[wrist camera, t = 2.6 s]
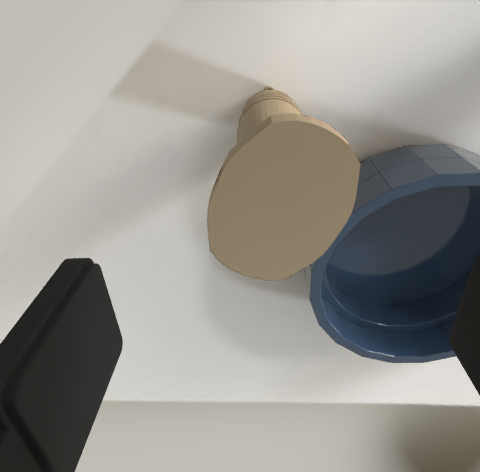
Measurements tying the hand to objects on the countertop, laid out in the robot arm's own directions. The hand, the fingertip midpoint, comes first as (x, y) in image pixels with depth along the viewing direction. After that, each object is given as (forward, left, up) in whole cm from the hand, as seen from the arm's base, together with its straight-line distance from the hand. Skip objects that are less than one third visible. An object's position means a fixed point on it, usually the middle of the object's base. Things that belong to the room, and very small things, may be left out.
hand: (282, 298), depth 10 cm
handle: (0, 0, -20) cm, 20 cm away
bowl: (+11, +11, -20) cm, 25 cm away
